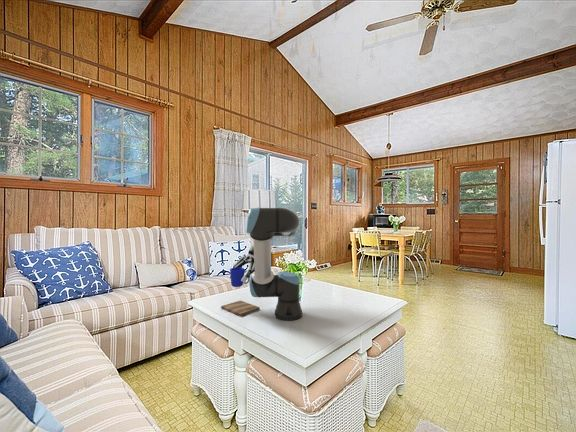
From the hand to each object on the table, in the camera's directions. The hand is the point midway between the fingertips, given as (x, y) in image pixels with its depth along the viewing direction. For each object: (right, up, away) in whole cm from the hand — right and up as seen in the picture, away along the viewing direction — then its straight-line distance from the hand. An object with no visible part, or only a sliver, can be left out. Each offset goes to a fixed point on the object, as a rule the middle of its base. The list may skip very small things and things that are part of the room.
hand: (236, 280), depth 160 cm
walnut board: (+2, -17, +2) cm, 18 cm away
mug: (+2, -4, +2) cm, 5 cm away
